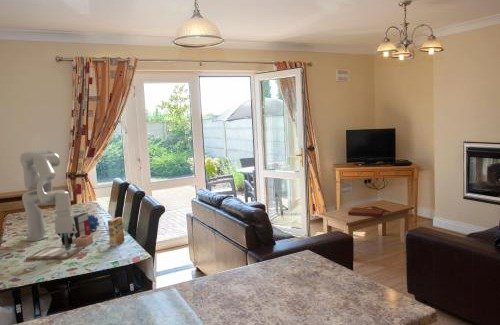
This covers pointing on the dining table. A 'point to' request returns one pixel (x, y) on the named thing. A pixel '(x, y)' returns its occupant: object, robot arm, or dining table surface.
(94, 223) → the grapes
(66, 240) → the marker
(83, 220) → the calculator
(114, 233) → the candy box
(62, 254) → the clipboard
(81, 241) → the pen cup
